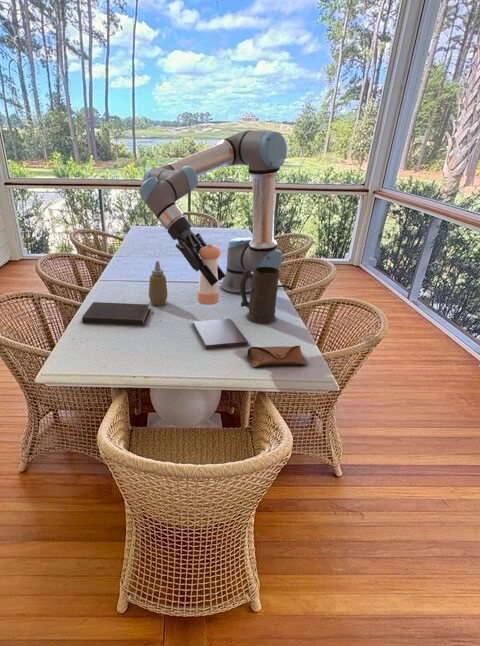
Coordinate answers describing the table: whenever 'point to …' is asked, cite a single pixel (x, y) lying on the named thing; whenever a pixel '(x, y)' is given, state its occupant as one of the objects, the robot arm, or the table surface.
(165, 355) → the table surface
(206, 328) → the serving board
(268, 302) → the beer stein
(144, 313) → the hardcover book
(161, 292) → the squeeze bottle
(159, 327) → the table surface
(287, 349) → the sunglasses case
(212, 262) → the pepper shaker
